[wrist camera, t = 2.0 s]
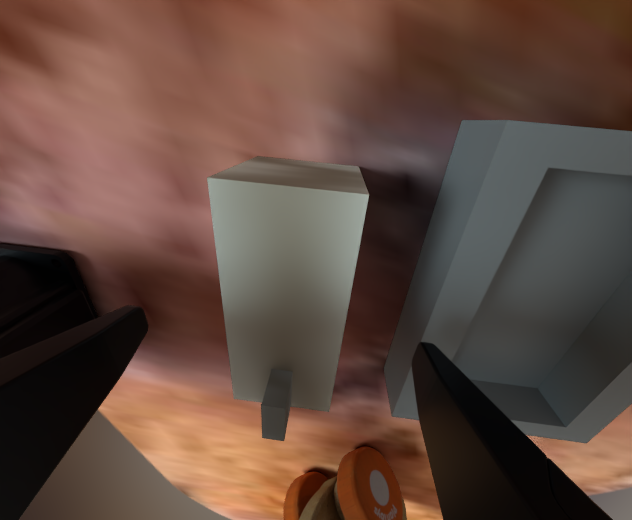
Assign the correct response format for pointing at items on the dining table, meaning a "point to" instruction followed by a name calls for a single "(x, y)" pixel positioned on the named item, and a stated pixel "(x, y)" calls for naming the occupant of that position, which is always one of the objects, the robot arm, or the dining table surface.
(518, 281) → the cradle
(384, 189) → the dining table surface
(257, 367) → the white block with tab
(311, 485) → the toy helicopter
